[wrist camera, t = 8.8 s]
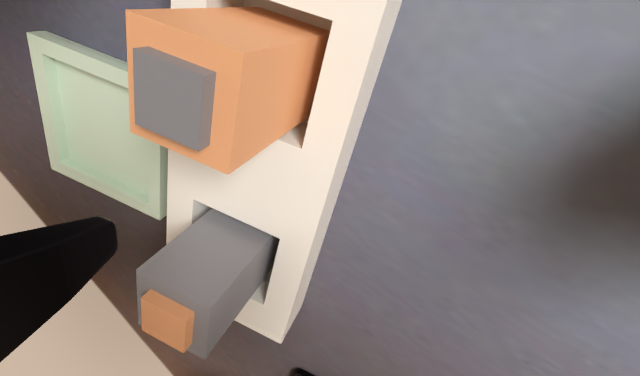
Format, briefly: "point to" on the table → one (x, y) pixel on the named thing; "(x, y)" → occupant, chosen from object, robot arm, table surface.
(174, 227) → the outlet strip
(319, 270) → the table surface
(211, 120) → the plug
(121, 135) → the tray
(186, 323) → the twin plug
